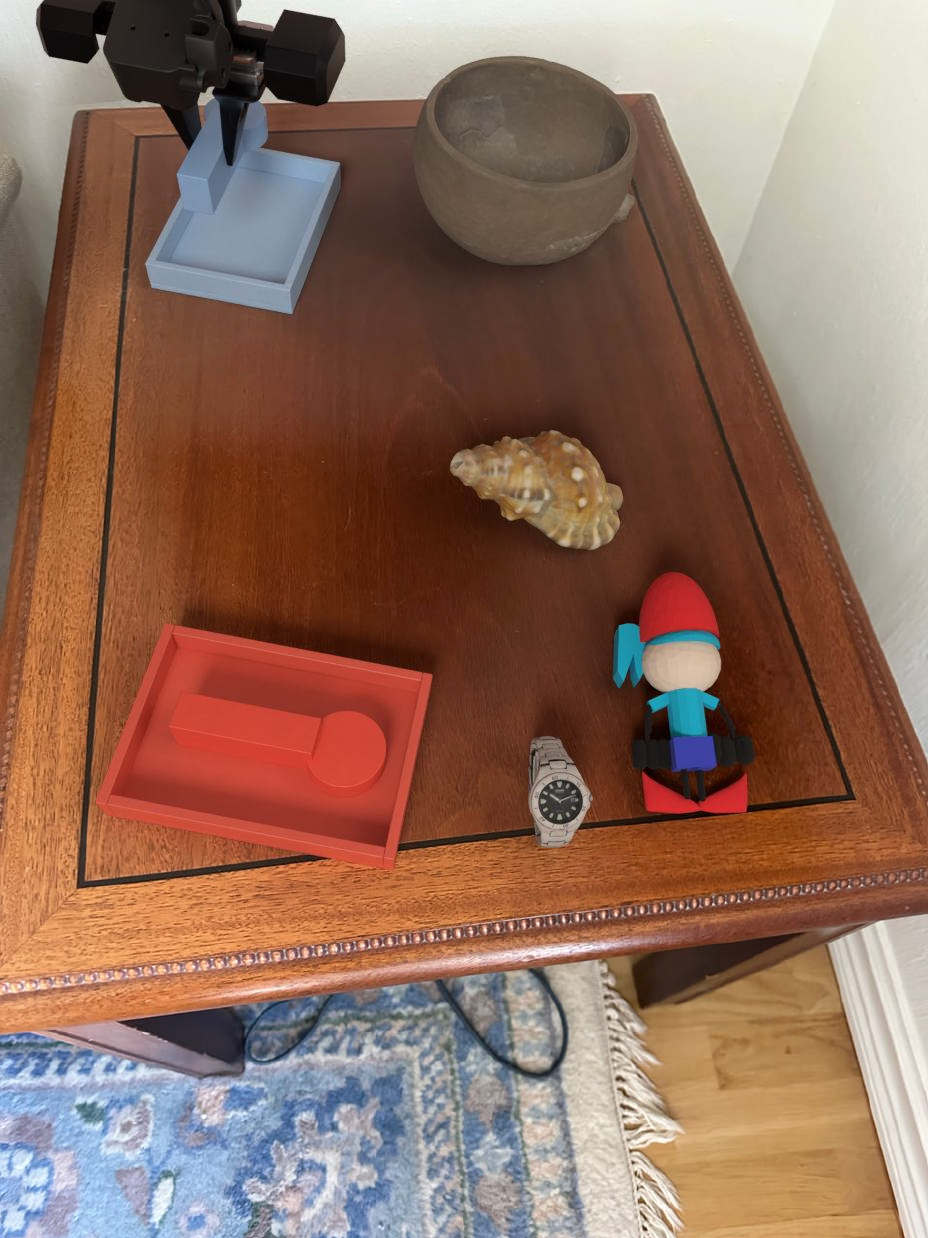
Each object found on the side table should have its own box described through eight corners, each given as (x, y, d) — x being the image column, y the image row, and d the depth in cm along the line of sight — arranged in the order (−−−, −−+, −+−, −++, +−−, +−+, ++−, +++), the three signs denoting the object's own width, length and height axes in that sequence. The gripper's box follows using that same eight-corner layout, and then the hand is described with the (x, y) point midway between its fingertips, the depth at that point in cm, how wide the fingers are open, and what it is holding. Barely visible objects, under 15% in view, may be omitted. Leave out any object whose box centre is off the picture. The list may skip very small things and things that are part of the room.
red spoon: (170, 764, 51) (160, 746, 49) (196, 692, 53) (187, 671, 51) (376, 804, 51) (376, 788, 49) (393, 730, 53) (394, 711, 51)
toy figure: (749, 815, 55) (715, 585, 60) (776, 804, 50) (737, 556, 55) (625, 821, 54) (601, 590, 59) (641, 810, 50) (614, 560, 55)
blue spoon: (230, 218, 64) (224, 182, 62) (167, 206, 64) (158, 170, 62) (275, 122, 70) (271, 86, 68) (217, 111, 70) (211, 75, 68)
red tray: (106, 815, 50) (94, 802, 48) (172, 640, 55) (165, 622, 53) (393, 870, 50) (394, 860, 48) (430, 690, 55) (433, 673, 53)
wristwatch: (522, 856, 51) (536, 830, 46) (511, 752, 54) (523, 719, 49) (583, 853, 51) (602, 827, 47) (569, 750, 54) (586, 717, 50)
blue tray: (292, 314, 70) (289, 290, 68) (151, 287, 70) (144, 263, 68) (341, 186, 78) (340, 162, 76) (214, 163, 78) (210, 137, 76)
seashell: (524, 598, 63) (465, 517, 55) (493, 517, 68) (434, 432, 60) (645, 537, 61) (602, 445, 53) (604, 458, 66) (559, 363, 58)
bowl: (654, 234, 79) (689, 123, 70) (520, 330, 71) (540, 220, 63) (508, 139, 83) (524, 24, 75) (368, 220, 76) (368, 103, 68)
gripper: (-47, -55, 48) (45, 205, 62) (295, 8, 48) (312, 255, 62) (37, -144, 54) (105, 112, 67) (343, -88, 54) (350, 157, 67)
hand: (214, 159), depth 66 cm, fingers closed on blue spoon, 2 cm apart
